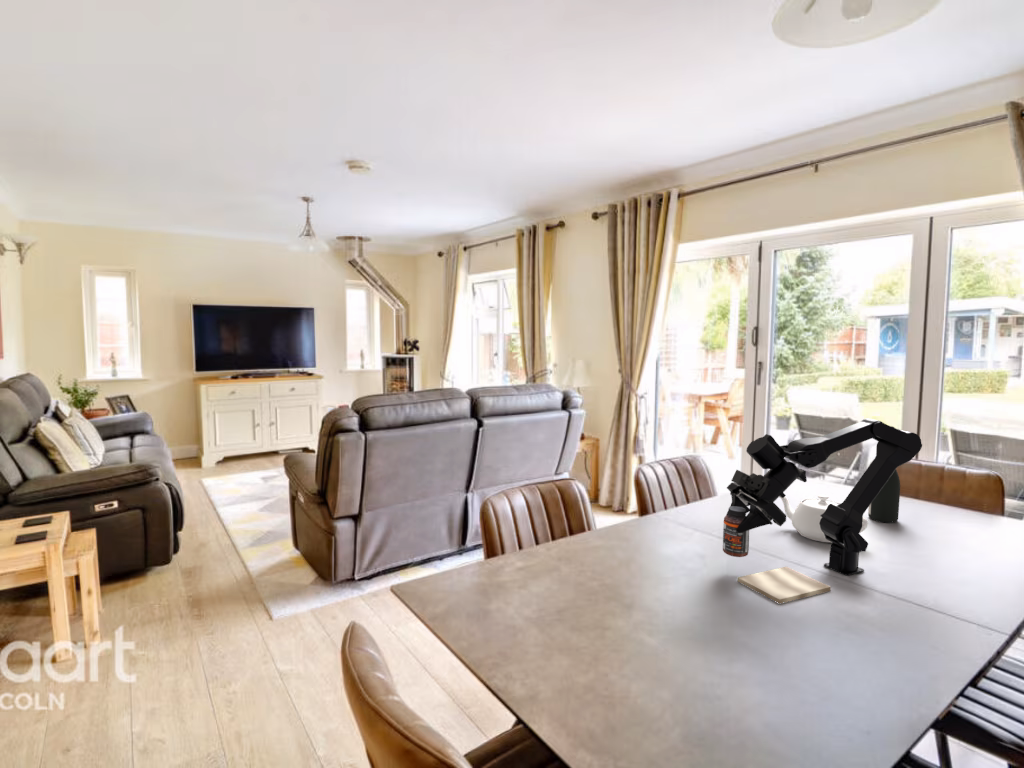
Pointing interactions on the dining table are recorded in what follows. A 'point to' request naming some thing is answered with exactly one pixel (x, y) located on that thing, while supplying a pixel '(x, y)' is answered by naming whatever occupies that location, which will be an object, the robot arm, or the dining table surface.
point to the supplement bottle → (735, 533)
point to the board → (783, 584)
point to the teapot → (811, 516)
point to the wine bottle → (886, 501)
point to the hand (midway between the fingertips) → (730, 527)
